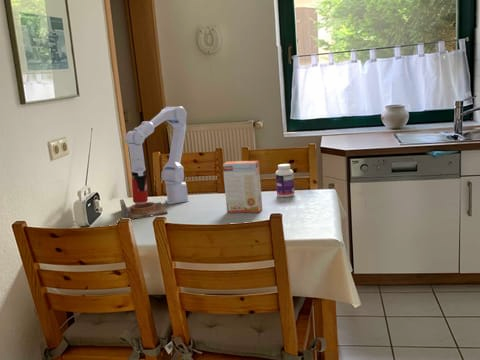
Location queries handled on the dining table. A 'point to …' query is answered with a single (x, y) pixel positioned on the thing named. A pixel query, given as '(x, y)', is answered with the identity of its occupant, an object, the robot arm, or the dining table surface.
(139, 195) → the beverage can
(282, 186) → the pill bottle
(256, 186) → the cracker box
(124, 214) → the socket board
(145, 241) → the dining table surface
